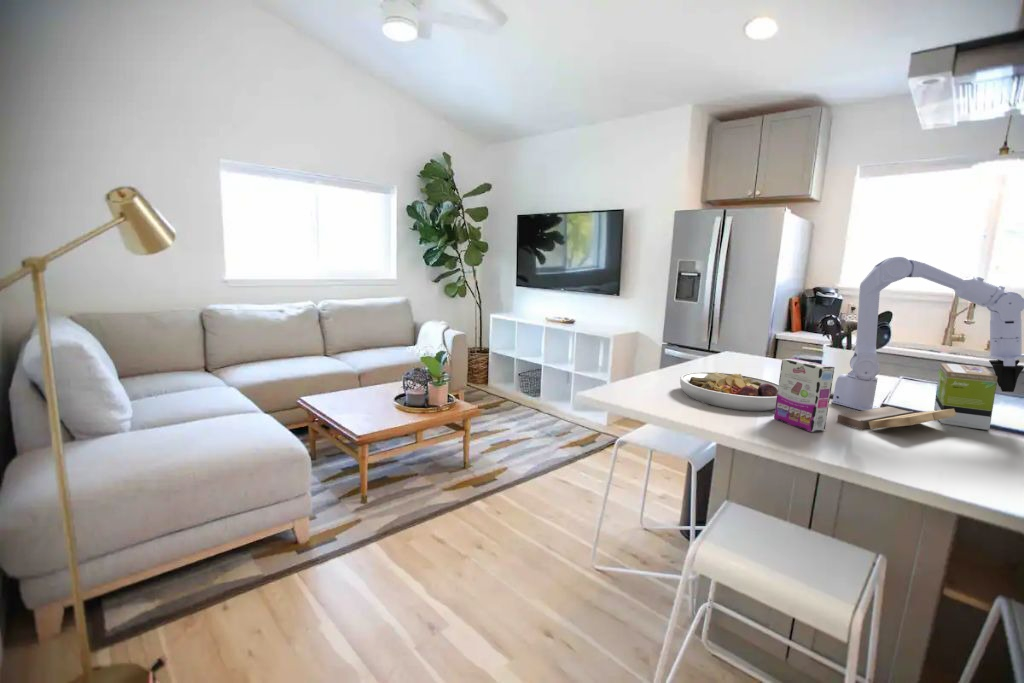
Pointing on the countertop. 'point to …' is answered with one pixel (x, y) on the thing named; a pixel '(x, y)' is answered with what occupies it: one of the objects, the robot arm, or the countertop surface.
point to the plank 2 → (938, 414)
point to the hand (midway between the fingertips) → (1005, 389)
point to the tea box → (966, 395)
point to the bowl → (730, 390)
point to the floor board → (869, 416)
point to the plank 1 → (901, 421)
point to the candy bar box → (804, 394)
